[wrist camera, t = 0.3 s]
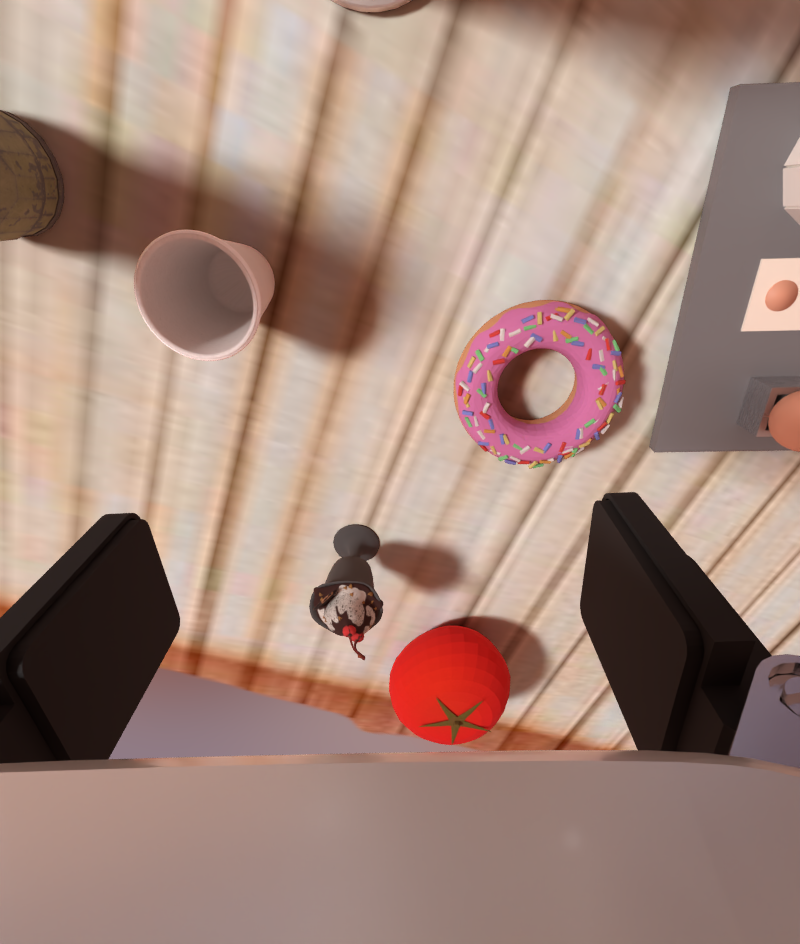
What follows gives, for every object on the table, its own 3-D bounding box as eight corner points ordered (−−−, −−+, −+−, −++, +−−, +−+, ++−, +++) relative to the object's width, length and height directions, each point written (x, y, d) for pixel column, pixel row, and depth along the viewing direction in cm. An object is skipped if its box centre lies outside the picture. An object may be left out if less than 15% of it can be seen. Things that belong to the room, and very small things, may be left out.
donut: (419, 373, 46) (420, 391, 42) (549, 257, 41) (566, 264, 37) (515, 475, 51) (525, 501, 46) (641, 382, 46) (666, 401, 42)
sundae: (391, 564, 56) (386, 676, 43) (331, 569, 56) (308, 681, 43) (383, 514, 53) (375, 618, 40) (320, 520, 53) (291, 624, 40)
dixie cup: (311, 296, 43) (285, 320, 34) (235, 348, 45) (193, 383, 36) (247, 202, 40) (200, 200, 31) (169, 262, 42) (105, 277, 33)
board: (730, 87, 36) (743, 83, 34) (992, 79, 35) (1015, 74, 34) (649, 446, 49) (656, 453, 48) (839, 443, 48) (852, 450, 47)
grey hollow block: (750, 376, 44) (772, 387, 42) (801, 375, 44) (827, 386, 42) (736, 423, 46) (756, 436, 44) (785, 422, 46) (808, 435, 44)
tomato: (442, 701, 66) (448, 781, 57) (368, 653, 63) (362, 731, 53) (525, 644, 61) (546, 721, 52) (451, 588, 57) (459, 661, 48)
